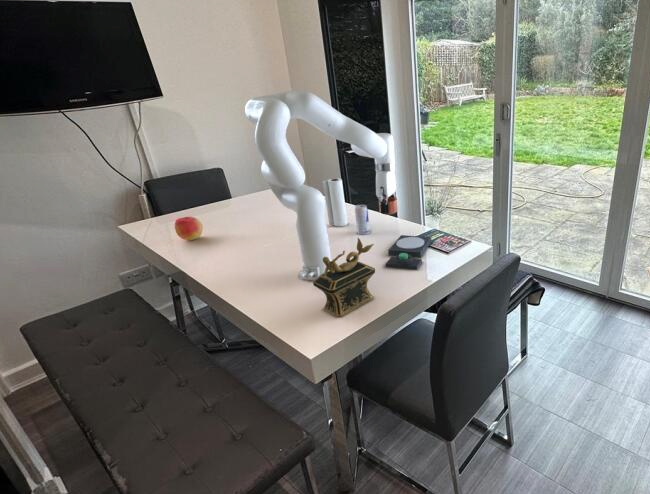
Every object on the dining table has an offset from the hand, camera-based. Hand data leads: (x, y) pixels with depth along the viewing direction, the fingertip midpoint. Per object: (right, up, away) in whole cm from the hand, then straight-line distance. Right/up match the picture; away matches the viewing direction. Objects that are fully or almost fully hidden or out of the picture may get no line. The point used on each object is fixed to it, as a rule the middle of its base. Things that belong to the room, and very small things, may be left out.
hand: (388, 210), depth 163 cm
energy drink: (-14, -9, +17) cm, 24 cm away
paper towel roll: (-27, -5, +26) cm, 38 cm away
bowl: (0, -1, 0) cm, 1 cm away
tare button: (+8, -19, -14) cm, 25 cm away
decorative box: (-5, -31, -35) cm, 47 cm away
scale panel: (+8, -21, -13) cm, 26 cm away
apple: (-87, -12, +12) cm, 88 cm away
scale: (+9, -15, 0) cm, 18 cm away
